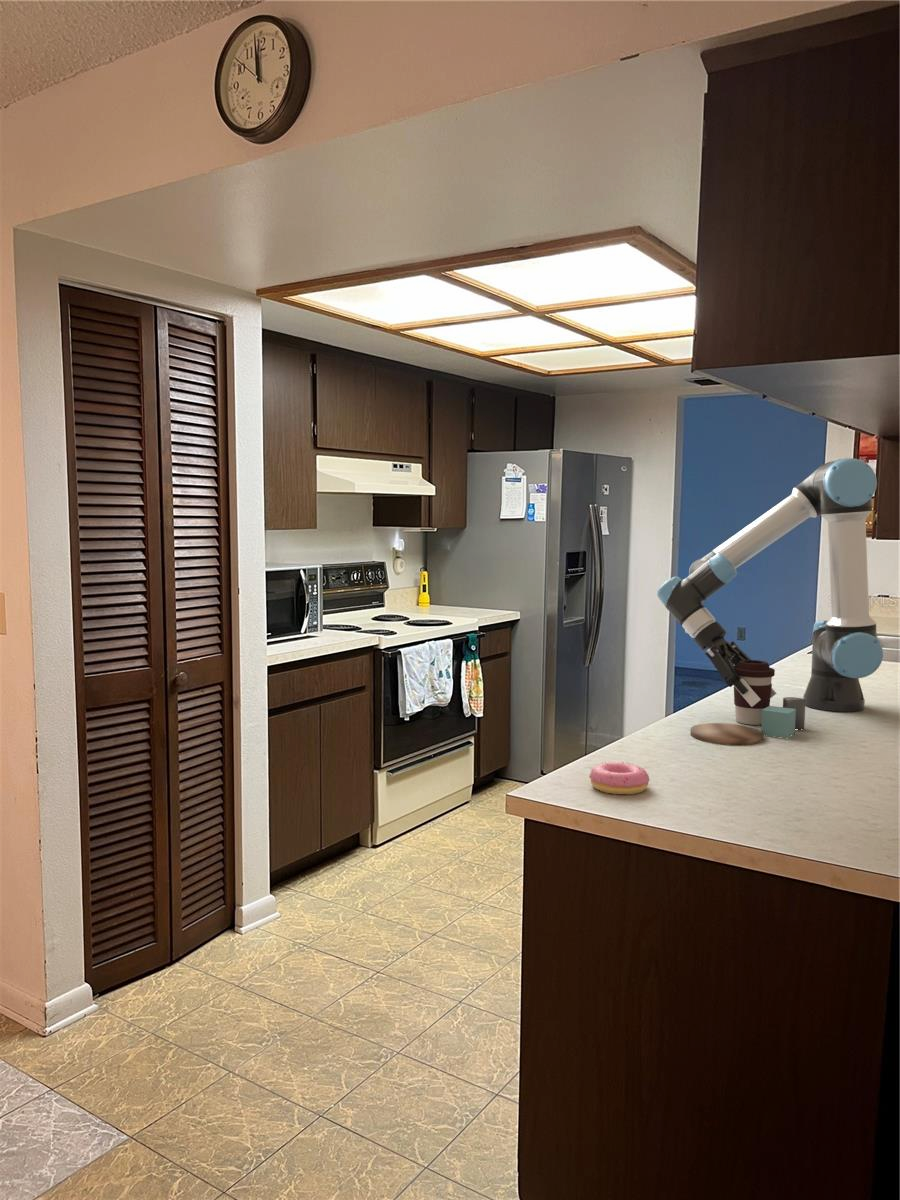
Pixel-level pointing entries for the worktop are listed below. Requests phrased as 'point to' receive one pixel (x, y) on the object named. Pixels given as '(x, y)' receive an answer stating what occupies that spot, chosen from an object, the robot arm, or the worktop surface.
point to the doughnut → (619, 778)
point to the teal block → (778, 721)
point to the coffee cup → (760, 683)
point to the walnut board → (727, 734)
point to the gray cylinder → (800, 710)
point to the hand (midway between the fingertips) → (764, 700)
